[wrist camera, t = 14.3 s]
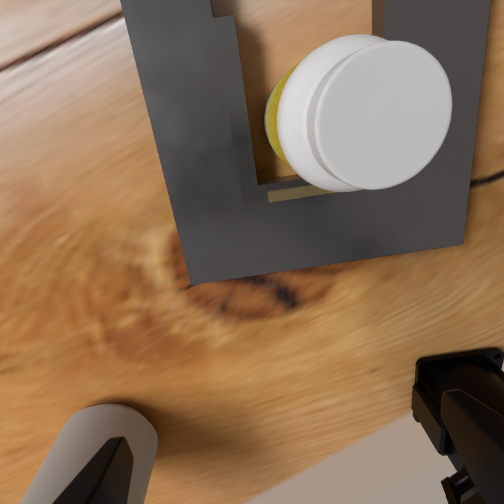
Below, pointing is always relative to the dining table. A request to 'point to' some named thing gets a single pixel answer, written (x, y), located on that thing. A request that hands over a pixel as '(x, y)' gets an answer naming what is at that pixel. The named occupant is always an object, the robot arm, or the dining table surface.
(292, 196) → the keyhole plate
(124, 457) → the robot arm
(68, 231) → the dining table surface
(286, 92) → the supplement bottle
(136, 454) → the can
